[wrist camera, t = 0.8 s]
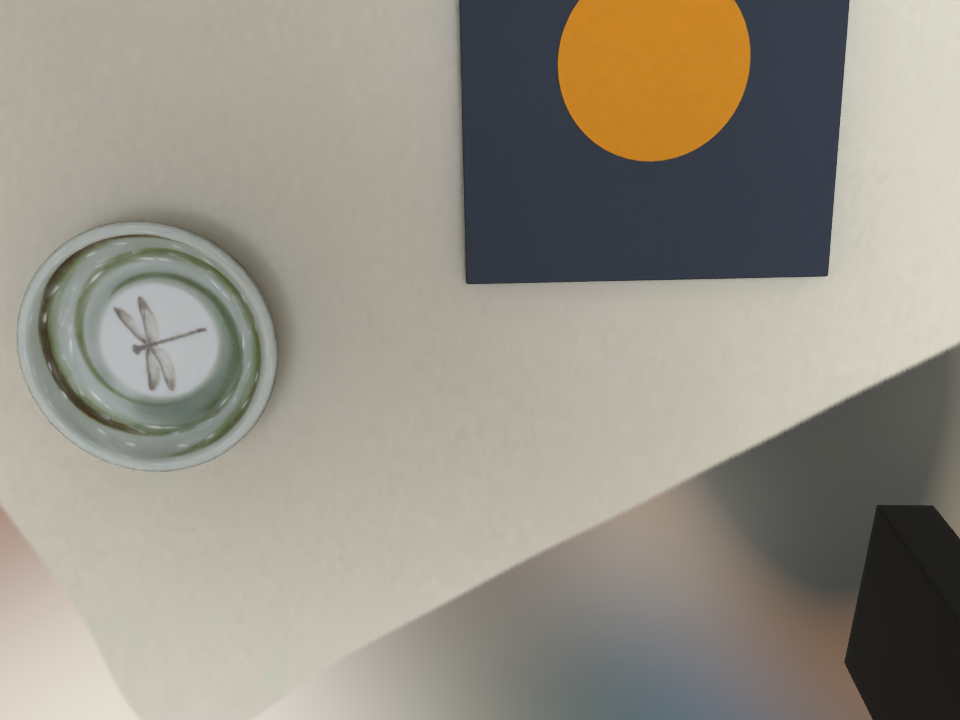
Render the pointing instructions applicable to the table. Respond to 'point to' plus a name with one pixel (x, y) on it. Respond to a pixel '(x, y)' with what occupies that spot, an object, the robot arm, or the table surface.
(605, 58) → the mat
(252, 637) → the table surface
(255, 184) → the table surface
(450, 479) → the table surface
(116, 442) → the saucer
